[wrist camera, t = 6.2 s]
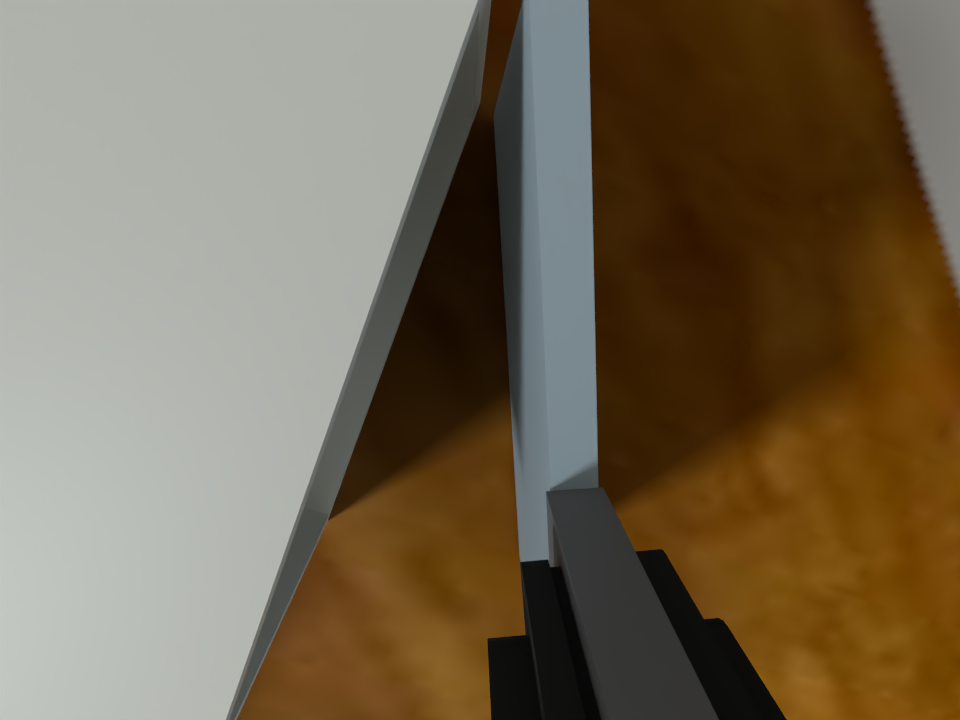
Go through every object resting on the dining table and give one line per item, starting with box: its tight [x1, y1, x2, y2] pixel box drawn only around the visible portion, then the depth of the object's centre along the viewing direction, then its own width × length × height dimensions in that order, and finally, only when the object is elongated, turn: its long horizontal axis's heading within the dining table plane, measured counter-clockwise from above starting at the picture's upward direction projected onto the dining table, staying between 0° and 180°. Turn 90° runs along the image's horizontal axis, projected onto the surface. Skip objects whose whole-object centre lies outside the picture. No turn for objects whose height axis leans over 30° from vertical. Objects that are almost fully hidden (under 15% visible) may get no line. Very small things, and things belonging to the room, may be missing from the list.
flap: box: [493, 0, 719, 720], centre depth 15 cm, size 20×1×21 cm, turn 4°
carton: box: [0, 0, 491, 720], centre depth 18 cm, size 20×18×14 cm
